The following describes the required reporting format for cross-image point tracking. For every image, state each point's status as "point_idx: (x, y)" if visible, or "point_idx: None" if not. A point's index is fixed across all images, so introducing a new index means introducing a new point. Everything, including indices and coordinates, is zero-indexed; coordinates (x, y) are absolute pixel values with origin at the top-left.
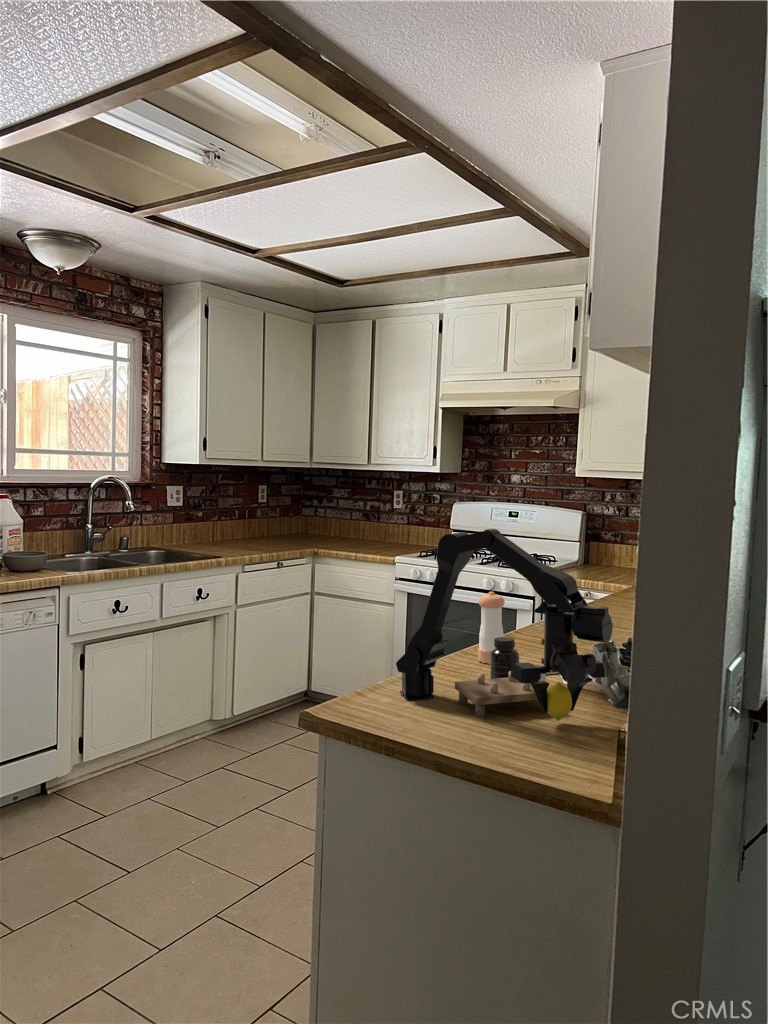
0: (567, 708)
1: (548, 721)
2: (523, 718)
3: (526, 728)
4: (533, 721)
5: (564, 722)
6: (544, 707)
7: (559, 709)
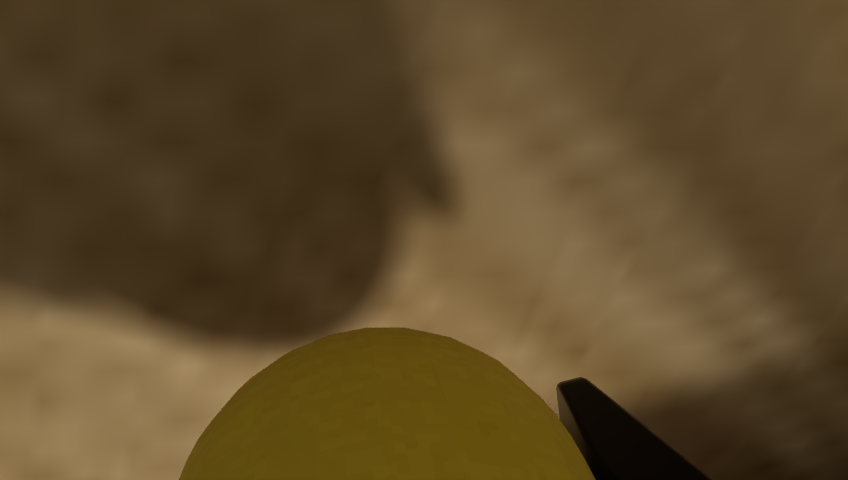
0: (263, 414)
1: None
2: None
3: (757, 206)
4: None
5: None
6: (642, 429)
7: (422, 372)
